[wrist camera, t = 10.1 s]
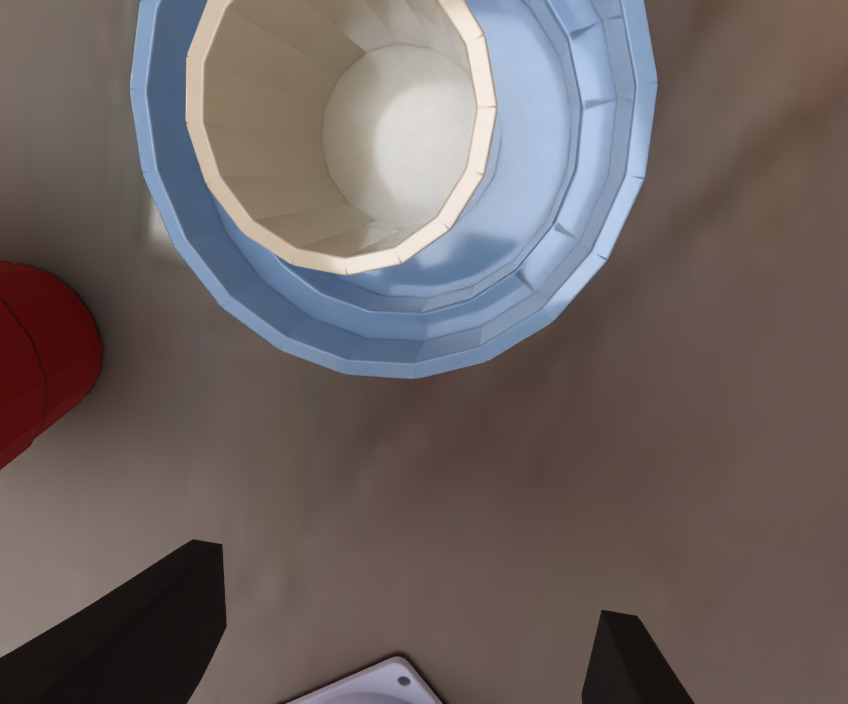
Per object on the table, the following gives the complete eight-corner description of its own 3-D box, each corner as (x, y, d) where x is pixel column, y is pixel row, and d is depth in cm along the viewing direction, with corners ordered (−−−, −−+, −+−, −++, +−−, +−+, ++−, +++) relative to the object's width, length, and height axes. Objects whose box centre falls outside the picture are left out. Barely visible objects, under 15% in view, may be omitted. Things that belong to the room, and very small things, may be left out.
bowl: (691, 192, 16) (759, 197, 11) (373, 391, 19) (335, 454, 15) (462, -210, 13) (441, -388, 9) (153, 98, 17) (35, 72, 13)
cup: (537, 162, 15) (559, 153, 9) (388, 268, 17) (312, 327, 10) (428, -12, 14) (361, -168, 8) (281, 118, 16) (124, 78, 10)
